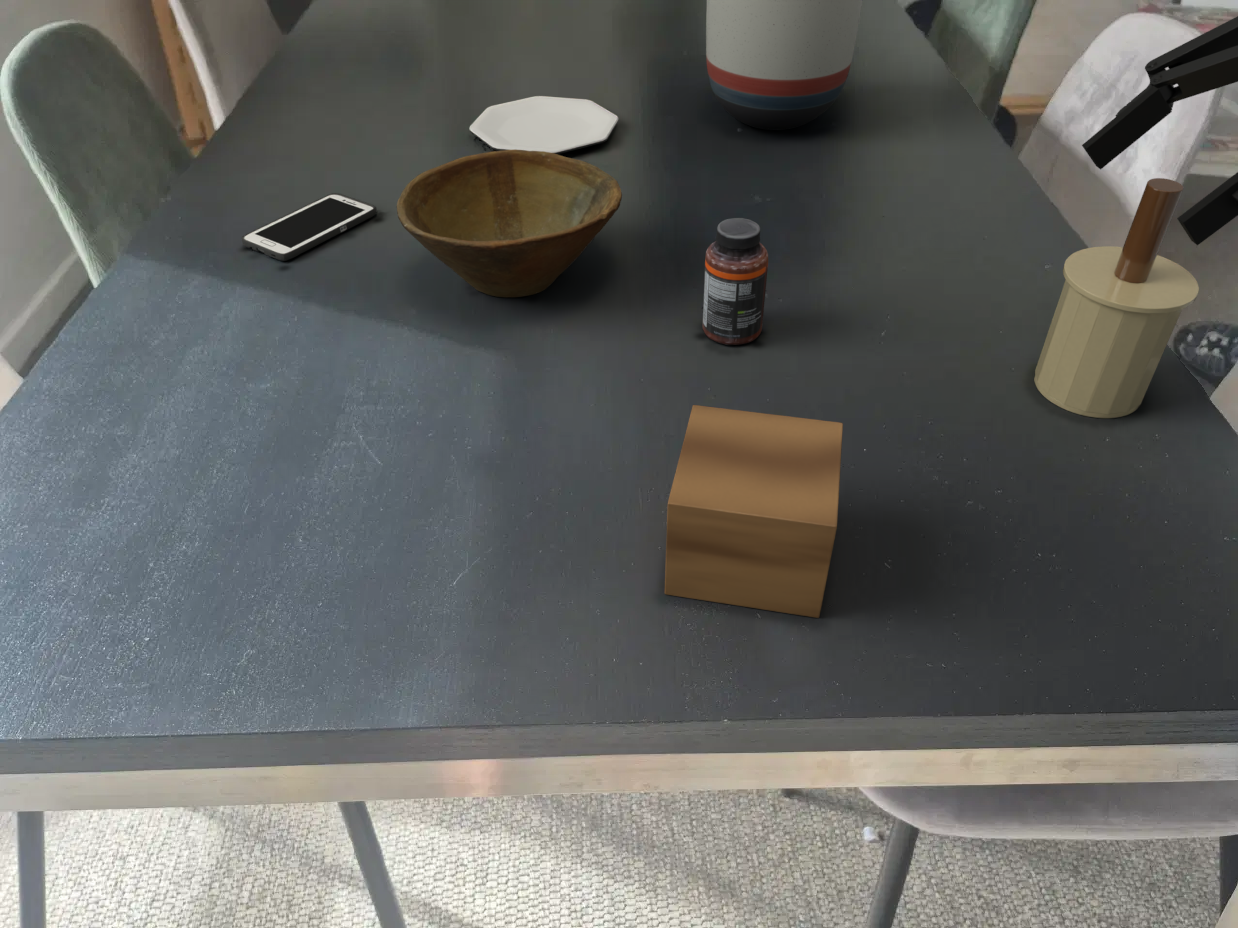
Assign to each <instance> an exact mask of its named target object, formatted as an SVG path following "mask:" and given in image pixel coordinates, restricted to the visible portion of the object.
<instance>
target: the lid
mask: <svg viewBox="0 0 1238 928" xmlns="http://www.w3.org/2000/svg"><path fill="white" fill-rule="evenodd" d="M1183 192H1184V185H1183V184H1182V183H1180V182H1178V181H1176V180H1173V179H1169V178H1163V177H1157V178H1151V179H1148V180H1147V182H1146V184H1145V186H1144V190H1143V193H1142V195H1141V198H1140V201H1139V203H1138V205H1137V209H1136V211H1135V214H1134V216H1133V220H1132V222H1131V225H1130V228H1129V229H1128V233H1127V236H1126V239H1125V240H1124V243H1123V246H1112V245H1111V246H1110V245H1109V246H1108V245H1107V246H1106V245H1105V246H1103V245H1102V246H1091V247H1087V248H1083V249H1080V250H1077V251H1075V252H1073V253H1072V254H1070V255H1069V256H1068V257H1067V258H1066V259H1065V261H1064V264H1063V267H1062V274H1063V277H1064V279H1065V280H1066V281H1067V282H1068V284H1069V285H1070V286H1071V287H1072V288H1073V289H1075V290H1076V291H1077V292H1079V293H1080V294H1082V295H1083V296H1085V297H1087V298H1089V299H1091V300H1093V301H1095V302H1098V303H1100V304H1103V305H1106V306H1109V307H1112V308H1116V309H1120V310H1124V311H1130V312H1137V313H1149V314H1159V313H1170V312H1175V311H1179V310H1182V311H1183V310H1184V309H1186V308H1188V307H1189V306H1191V305H1192V304H1194V302H1195V301H1196V299H1197V297H1198V295H1199V292H1200V286H1199V283H1198V281H1197V279H1196V278H1195V277H1194V276H1193V274H1192V273H1191V272H1190V271H1188V270H1187V269H1186V268H1184V267H1183V266H1182V265H1180V264H1179V263H1176V262H1175V261H1173V260H1170V259H1169V258H1166V257H1164V256H1162V255H1159V252H1160V250H1161V247H1162V245H1163V242H1164V239H1165V236H1166V234H1167V232H1168V229H1169V227H1170V224H1171V221H1172V219H1173V217H1174V214H1175V211H1176V209H1177V206H1178V204H1179V202H1180V199H1181V197H1182V194H1183ZM1065 280H1064V281H1065Z"/></svg>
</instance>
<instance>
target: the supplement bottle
mask: <svg viewBox="0 0 1238 928" xmlns="http://www.w3.org/2000/svg"><path fill="white" fill-rule="evenodd" d="M704 257H705V258H704V259H705V261H704V279H703V298H702V302H703V303H702V307H701V310H702V319H701V320H702V321H701V322H702V330H703V332H704V334H705V336H707V338H708V339H710V340H711V341H713V342H716V343H719V344H722V345H725V346H740V345H745V344H749V343H751V342H753V341H754V340H756V339H757V338H758V337H759V336H760V334H761V332H762V330H763V323H764V312H765V302H766V293H767V291H766V290H767V281H768V279H767V278H768V271H769V252H768V250H767V249H766V247H765V246H764V245H763V243H761V227H760V225H759V224H758V223H757V222H755V221H753V220H751V219H747V218H743V217H733V218H728V219H724V220H722V221H721V222H719V224H718V225H717V227H716V236H715V240H714V242H712V243H710V245H709V246H708V247H707V249H706V251H705V256H704Z"/></svg>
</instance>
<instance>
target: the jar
mask: <svg viewBox="0 0 1238 928" xmlns="http://www.w3.org/2000/svg"><path fill="white" fill-rule="evenodd" d="M1182 311H1183V309H1182V310H1179V311H1175V312H1170V313H1159V314H1149V313H1137V312H1130V311H1124V310H1120V309H1116V308H1112V307H1109V306H1106V305H1103V304H1100V303H1098V302H1095V301H1093V300H1091V299H1089V298H1087V297H1085V296H1083V295H1082V294H1080V293H1079V292H1077V291H1076V290H1075V289H1073V288H1072V287H1071V286H1070V285H1069V284H1068V282H1067V281H1066V280H1064V283H1063V286H1062V289H1061V293H1060V296H1059V298H1058V302H1057V305H1056V308H1055V310H1054V314H1053V316H1052V319H1051V322H1050V325H1049V329H1048V331H1047V334H1046V337H1045V340H1044V343H1043V346H1042V349H1041V352H1040V355H1039V358H1038V360H1037V364H1036V367H1035V370H1034V377H1033V378H1034V384H1035V387H1036V388H1037V390H1038V392H1039V393H1040V394H1041V395H1042V396H1043V397H1044V398H1045V399H1046V400H1047V401H1049V402H1051V403H1052V404H1053V405H1055V406H1057V407H1059V408H1061V409H1063V410H1065V411H1067V412H1071V413H1073V414H1077V415H1079V416H1084V417H1087V418H1096V419H1097V418H1098V419H1116V418H1121V417H1125V416H1129V415H1130V414H1132V413H1134V412H1135V411H1137V410H1138V409H1139V408H1140V406H1141V405H1142V403H1143V401H1144V398H1145V395H1146V393H1147V391H1148V389H1149V387H1150V384H1151V382H1152V380H1153V377H1154V375H1155V373H1156V370H1157V369H1158V366H1159V364H1160V361H1161V359H1162V358H1163V357H1162V356H1163V355H1164V352H1165V350H1166V347H1167V345H1168V343H1169V342H1170V341H1169V340H1170V338H1171V336H1172V334H1173V331H1174V329H1175V327H1176V324H1178V323H1177V322H1178V320H1179V317H1180V316H1181V314H1182Z"/></svg>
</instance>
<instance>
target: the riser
mask: <svg viewBox="0 0 1238 928" xmlns="http://www.w3.org/2000/svg"><path fill="white" fill-rule="evenodd" d="M843 431H844V423H843V422H839V421H830V420H821V419H814V418H806V417H805V418H804V417H799V416H798V417H797V416H788V415H780V414H774V413H773V414H772V413H765V412H756V411H747V410H739V409H731V408H721V407H714V406H705V405H698V404H693V405H692V407H691V410H690V414H689V418H688V423H687V425H686V430H685V433H684V439H683V442H682V444H681V449H680V454H679V457H678V461H677V465H676V469H675V473H674V478H673V480H672V484H671V488H670V492H669V496H668V500H667V509H666V535H665V536H666V538H665V569H664V595H667V596H673V597H680V598H687V599H692V600H700V601H705V602H706V601H707V602H712V603H719V604H723V605H724V604H725V605H731V606H738V607H745V608H752V609H758V610H763V611H769V612H770V611H771V612H778V613H782V614H783V613H784V614H789V615H790V614H791V615H796V616H801V617H802V616H803V617H808V618H809V617H810V618H815V619H816V618H817V619H819V618H820V616H821V612H822V606H823V602H824V601H823V600H824V595H825V592H826V591H825V590H826V585H827V581H828V575H829V570H830V565H831V560H832V555H833V550H834V544H835V539H836V535H837V529H838V520H839V501H840V486H841V485H840V483H841V466H842V448H843Z"/></svg>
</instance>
